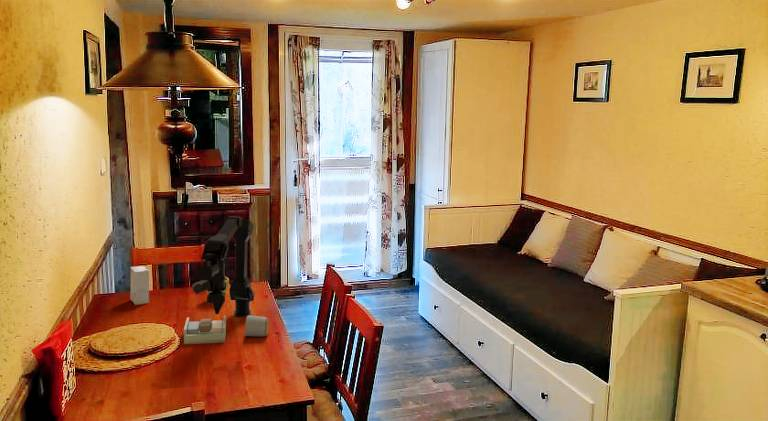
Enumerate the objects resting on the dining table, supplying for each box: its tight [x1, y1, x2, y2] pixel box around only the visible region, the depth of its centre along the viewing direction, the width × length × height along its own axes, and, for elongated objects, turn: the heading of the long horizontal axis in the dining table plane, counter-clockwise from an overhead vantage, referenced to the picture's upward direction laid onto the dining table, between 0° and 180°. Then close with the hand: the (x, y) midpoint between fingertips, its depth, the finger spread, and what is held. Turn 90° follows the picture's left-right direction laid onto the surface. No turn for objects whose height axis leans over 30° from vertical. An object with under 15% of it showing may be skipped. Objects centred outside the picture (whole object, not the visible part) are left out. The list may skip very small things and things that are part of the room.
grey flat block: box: [188, 320, 201, 335], centre depth 220 cm, size 8×4×2 cm, turn 13°
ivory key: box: [212, 319, 223, 333], centre depth 222 cm, size 8×4×2 cm, turn 13°
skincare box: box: [129, 265, 150, 306], centre depth 257 cm, size 8×6×15 cm
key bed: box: [183, 315, 227, 345], centre depth 221 cm, size 13×14×6 cm
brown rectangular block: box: [200, 318, 212, 333], centre depth 221 cm, size 8×4×2 cm, turn 13°
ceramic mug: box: [244, 315, 270, 338], centre depth 226 cm, size 11×8×8 cm
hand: (217, 313), depth 221 cm, fingers closed
